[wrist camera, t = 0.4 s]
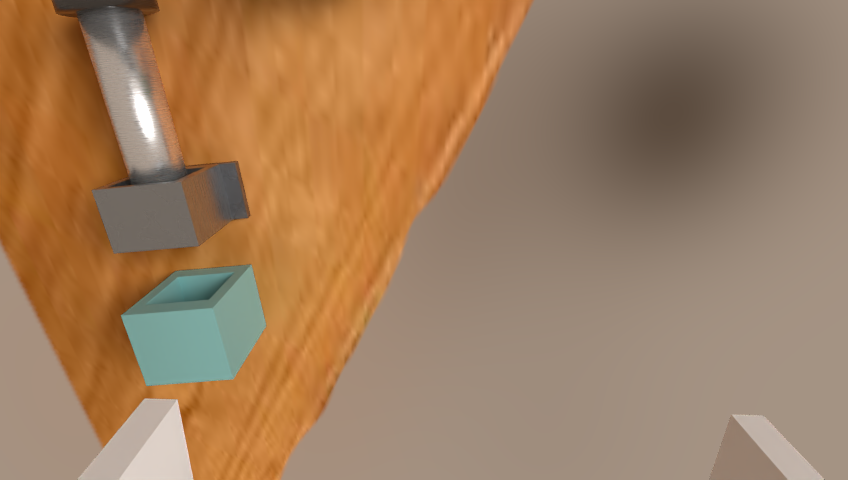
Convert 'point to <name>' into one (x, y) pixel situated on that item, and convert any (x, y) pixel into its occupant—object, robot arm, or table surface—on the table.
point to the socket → (196, 325)
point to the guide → (172, 208)
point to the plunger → (130, 85)
